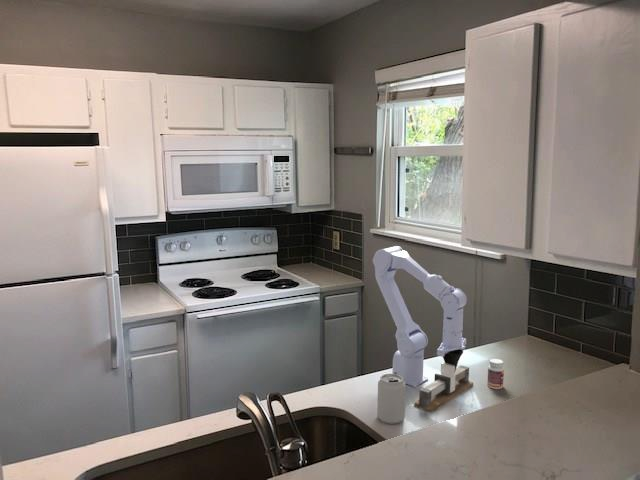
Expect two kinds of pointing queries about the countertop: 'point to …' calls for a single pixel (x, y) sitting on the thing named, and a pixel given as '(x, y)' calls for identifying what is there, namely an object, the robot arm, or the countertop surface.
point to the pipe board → (446, 396)
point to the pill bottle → (495, 374)
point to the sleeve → (448, 374)
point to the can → (391, 398)
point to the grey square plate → (448, 381)
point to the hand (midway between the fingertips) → (450, 372)
